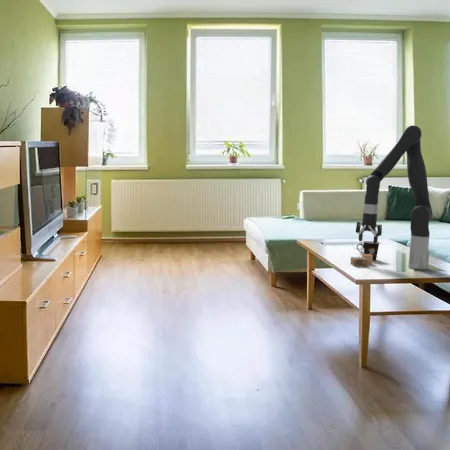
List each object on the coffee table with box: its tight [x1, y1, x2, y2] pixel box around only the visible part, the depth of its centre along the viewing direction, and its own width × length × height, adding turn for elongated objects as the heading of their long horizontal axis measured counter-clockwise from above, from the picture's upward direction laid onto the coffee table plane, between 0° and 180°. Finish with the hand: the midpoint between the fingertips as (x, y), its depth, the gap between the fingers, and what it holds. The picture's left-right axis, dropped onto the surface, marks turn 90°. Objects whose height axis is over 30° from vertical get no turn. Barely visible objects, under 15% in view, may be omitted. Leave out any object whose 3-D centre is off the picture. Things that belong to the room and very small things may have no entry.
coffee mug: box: [356, 240, 380, 262], centre depth 316 cm, size 12×9×10 cm
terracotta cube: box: [361, 253, 373, 266], centre depth 302 cm, size 5×5×5 cm
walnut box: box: [350, 256, 368, 268], centre depth 296 cm, size 7×7×4 cm
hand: (367, 242), depth 301 cm, fingers open, 8 cm apart
